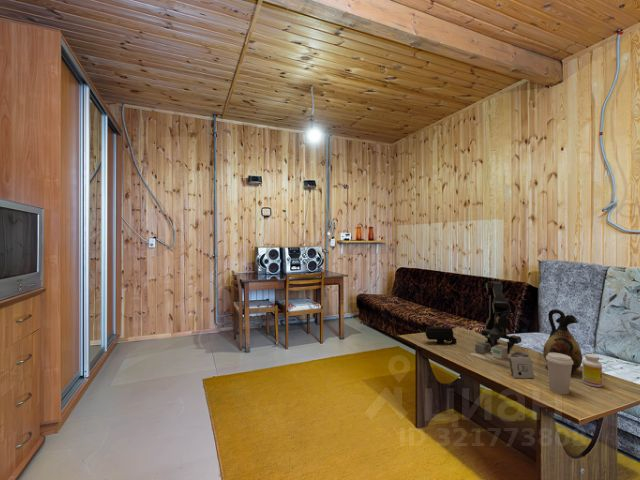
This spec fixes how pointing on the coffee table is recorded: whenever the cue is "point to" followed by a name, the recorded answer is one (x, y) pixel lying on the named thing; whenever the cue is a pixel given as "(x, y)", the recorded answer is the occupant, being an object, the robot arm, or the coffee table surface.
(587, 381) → the supplement bottle
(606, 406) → the coffee table surface
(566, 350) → the ceramic jug
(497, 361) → the rail panel
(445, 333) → the security camera
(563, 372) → the coffee cup
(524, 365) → the electrical switch
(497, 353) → the module block
